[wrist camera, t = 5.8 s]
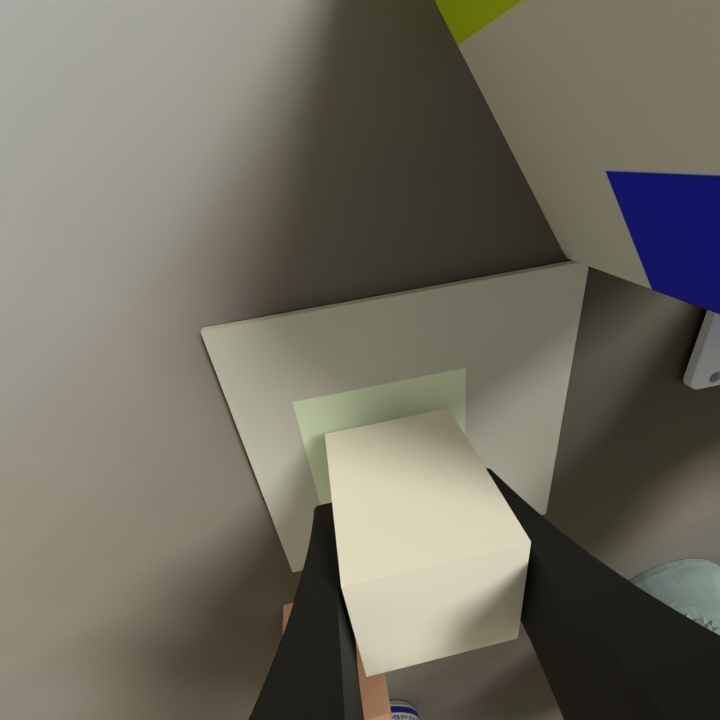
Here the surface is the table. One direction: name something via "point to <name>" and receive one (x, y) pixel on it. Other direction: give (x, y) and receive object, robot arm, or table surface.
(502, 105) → the puzzle toy
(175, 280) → the table surface
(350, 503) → the cream block
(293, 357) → the grey mat
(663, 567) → the teal plant pot
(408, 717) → the energy drink
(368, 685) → the terracotta block
